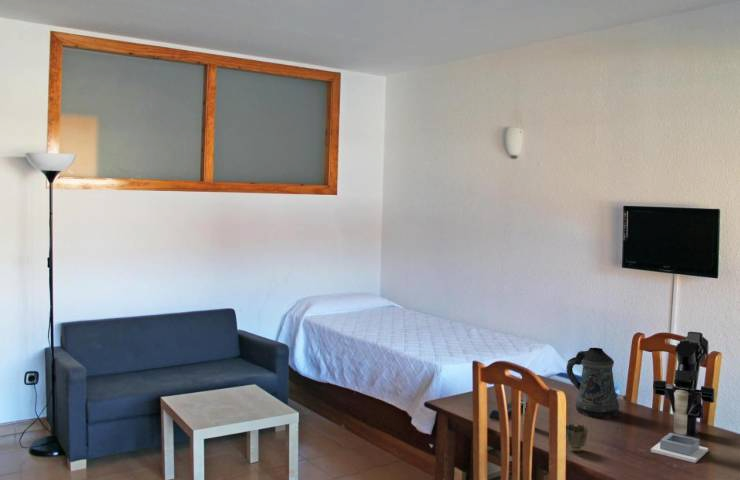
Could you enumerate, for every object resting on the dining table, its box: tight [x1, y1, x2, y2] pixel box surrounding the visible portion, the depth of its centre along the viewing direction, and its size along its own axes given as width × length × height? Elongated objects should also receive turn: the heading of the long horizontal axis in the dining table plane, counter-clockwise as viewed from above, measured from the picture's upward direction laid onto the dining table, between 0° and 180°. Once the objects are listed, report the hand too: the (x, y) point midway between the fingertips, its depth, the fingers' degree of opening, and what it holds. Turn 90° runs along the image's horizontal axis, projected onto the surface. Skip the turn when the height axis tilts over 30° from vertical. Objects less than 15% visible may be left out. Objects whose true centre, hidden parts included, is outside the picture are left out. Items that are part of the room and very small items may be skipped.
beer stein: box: [565, 347, 620, 419], centre depth 272 cm, size 16×19×25 cm
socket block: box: [650, 432, 709, 464], centre depth 231 cm, size 14×14×4 cm
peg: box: [673, 390, 688, 436], centre depth 230 cm, size 4×4×14 cm
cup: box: [565, 423, 589, 453], centre depth 231 cm, size 8×7×8 cm
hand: (680, 413), depth 229 cm, fingers closed on peg, 4 cm apart
